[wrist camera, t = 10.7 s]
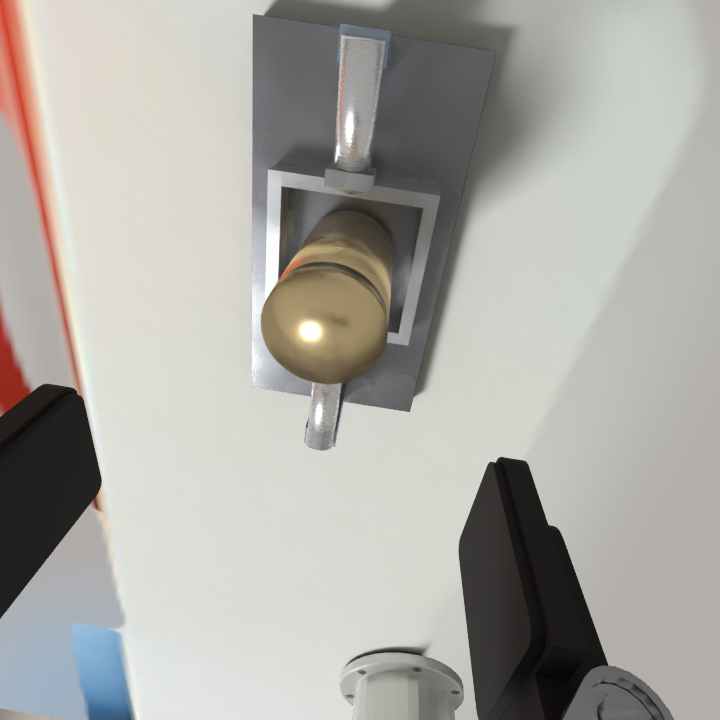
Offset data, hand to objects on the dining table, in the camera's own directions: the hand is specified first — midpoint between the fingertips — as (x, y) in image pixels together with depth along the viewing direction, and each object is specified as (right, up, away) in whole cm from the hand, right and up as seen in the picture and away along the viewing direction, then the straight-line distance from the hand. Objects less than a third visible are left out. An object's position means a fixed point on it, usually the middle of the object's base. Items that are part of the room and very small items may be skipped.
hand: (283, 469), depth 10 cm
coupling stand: (+1, +8, +13) cm, 15 cm away
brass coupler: (+1, +8, +12) cm, 14 cm away
